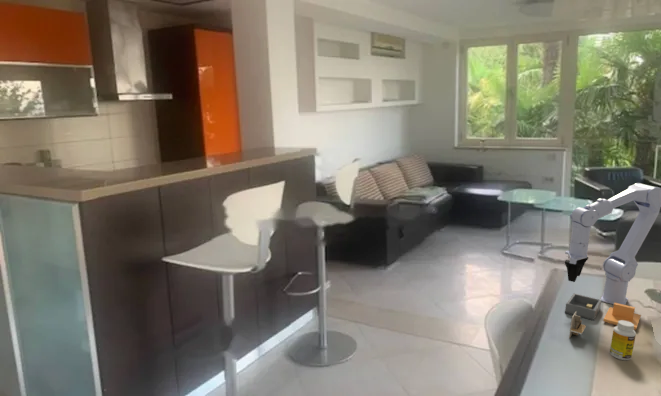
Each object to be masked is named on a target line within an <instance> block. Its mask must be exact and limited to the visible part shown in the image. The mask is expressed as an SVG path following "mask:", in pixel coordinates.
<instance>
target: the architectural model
mask: <svg viewBox="0 0 661 396" xmlns="http://www.w3.org/2000/svg"><path fill="white" fill-rule="evenodd" d="M576 312H577V311H576ZM576 312H575V313H574V315H571V322H570V329H569V335H568V338H569V339H570V338H571V337H572V336H573V335H575V336H579V334H580V335H583V333H584V331H585V329H586V327H587V325H586V324H582V321H583V320H582V319H581V318H582V317H580V316H577V315H576Z"/></svg>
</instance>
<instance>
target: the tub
mask: <svg viewBox="0 0 661 396" xmlns="http://www.w3.org/2000/svg"><path fill="white" fill-rule="evenodd" d="M602 302H603V301H602V300H600V298H599V299H598V298H595V297H591V296H587V295H582V294H579V293H575V292H574V293H572V295H571V296H570V298H569V299H568V300H567V302H566V303H565V310H564V314H567V315H571V316H573V315H574V313H575V312H576V311H577V312H576V315H577V316H580V318H582V319H585V320H589V321H593V322H594V321H595V319H596V317H597V316H598V314H599V312H600V310H601V307H602Z"/></svg>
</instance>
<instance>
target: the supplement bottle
mask: <svg viewBox="0 0 661 396" xmlns="http://www.w3.org/2000/svg"><path fill="white" fill-rule="evenodd" d="M636 335H637V333H636V330H635V329H634V324H633V323H631V322H628V321H624V320H620V321H618V324H617V325H615V326H614V327H613V331H612V335H611V343H610V346H609V347H610V348H609V354H610V355H611V356H612V357H613V358H616V359H618V360H622V361H629V360H631V359H632V356H633V351H634V346H635V342H636Z"/></svg>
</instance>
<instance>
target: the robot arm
mask: <svg viewBox="0 0 661 396" xmlns="http://www.w3.org/2000/svg"><path fill="white" fill-rule="evenodd" d="M631 202H634V204H635V206H636V207H637V208H638V211H639V212H638V214H637V216H636V217H635V220H634V222H633V223H632V225H631V227H630V229H629V231H628V232H627V234H626V236H625V238H624V240H623V241H622V243H621V245H620V247H619V248H618V249H617V250H615V251H613V252H611V253H610V254H609V255H608V257H606V258H605V260H604V261H603V263H602V269H603V271H604V272H605V273H604V274H605V281H604V286H603V287H604V288H603V294H602V295H601V297H600V298H599V300H602V301H601V302H602V303H603V302H604V303H607V304H610V305H614V303H619V304H623V305H627V302H628V299H629V298H628V297H627V292H628V287H629V282H631V281H632V280H633V279H634V277H635V276H636V271H637V269H638V266H639V263H638V261H637V259H636V255H637V254H638V253H639V252H638V251H639V250H640V249H641V247H642V245H643V243H644V241H645V240H646V238H647V236H648V234H649V232H650V230H651V228H653V225H654V223H655V222H656V220H657V218H658V216H659V214H660V211H661V187H660V186H659V187H658V186H652V185H649V184H644V183H641V182H636V183H634V184H632V185H629V186H628V187H627V189H625V190H623V191H621V192H620V193H618V194H616V195H613V196H612V197H610V198H608V199H606V198H601V197H600V198H598V199H596V201H595V202H592V203H590V204H586V205H584V207H582V206H581V207H580V206H579V207H576V208H574V209H573V210H572V212H571V213H570V215H569V219H570V220H571V226H572V228H571V234H570V241H569V249H568V250H565V252H564V254H565V255H568V257H569V260H567V259H566V260H564V265H565V267H566V270H567V280H568V281H569V282H571V283H572V282H573V283H575V282H576V281H577V278H578V277H580V275H581V274H582V272H583V268H584V266H585V264H586V262H587V261H588V260H589V257H588V249H589V243H590V235H591V229H592V227H593V226H594V225H595V224H596V223H597V221H598V220H599V219H601V218H604V217H606V216H608V215H610V214H612V213H613V210H614V209H615V208H618V207H620V206H623V205H625V204H628V203H631Z"/></svg>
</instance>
